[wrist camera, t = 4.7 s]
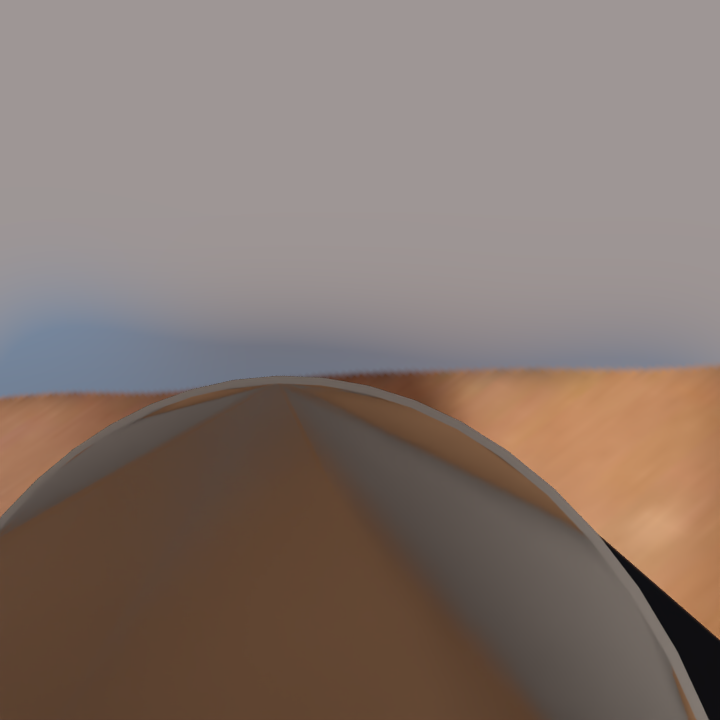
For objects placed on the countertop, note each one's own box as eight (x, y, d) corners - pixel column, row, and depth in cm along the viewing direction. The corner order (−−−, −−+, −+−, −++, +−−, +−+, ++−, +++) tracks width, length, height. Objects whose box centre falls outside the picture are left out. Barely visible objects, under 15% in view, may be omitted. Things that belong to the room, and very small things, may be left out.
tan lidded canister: (556, 596, 14) (1040, 936, 2) (431, 729, 13) (128, 2107, 2) (429, 467, 15) (288, 245, 4) (315, 582, 15) (-244, 740, 3)
